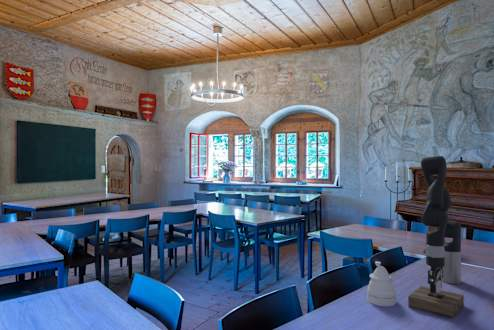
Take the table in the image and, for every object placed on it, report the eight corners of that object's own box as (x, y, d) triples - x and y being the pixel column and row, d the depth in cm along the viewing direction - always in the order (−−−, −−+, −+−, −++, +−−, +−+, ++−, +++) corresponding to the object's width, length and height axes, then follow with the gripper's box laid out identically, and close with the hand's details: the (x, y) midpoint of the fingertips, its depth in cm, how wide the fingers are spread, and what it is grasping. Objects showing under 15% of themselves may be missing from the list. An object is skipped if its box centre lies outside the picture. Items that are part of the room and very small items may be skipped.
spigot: (432, 301, 159) (432, 278, 159) (442, 304, 157) (441, 279, 157) (429, 304, 157) (429, 280, 157) (439, 306, 154) (439, 282, 154)
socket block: (421, 295, 169) (421, 285, 169) (463, 305, 157) (463, 294, 157) (408, 306, 156) (408, 295, 156) (453, 318, 144) (453, 306, 144)
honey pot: (361, 298, 167) (360, 261, 167) (381, 294, 172) (381, 258, 173) (381, 308, 156) (380, 268, 156) (402, 303, 161) (401, 264, 161)
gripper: (431, 250, 164) (431, 284, 164) (421, 256, 154) (421, 292, 154) (448, 253, 159) (449, 288, 159) (439, 259, 149) (440, 296, 149)
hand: (435, 290), depth 157 cm, fingers open, 8 cm apart
